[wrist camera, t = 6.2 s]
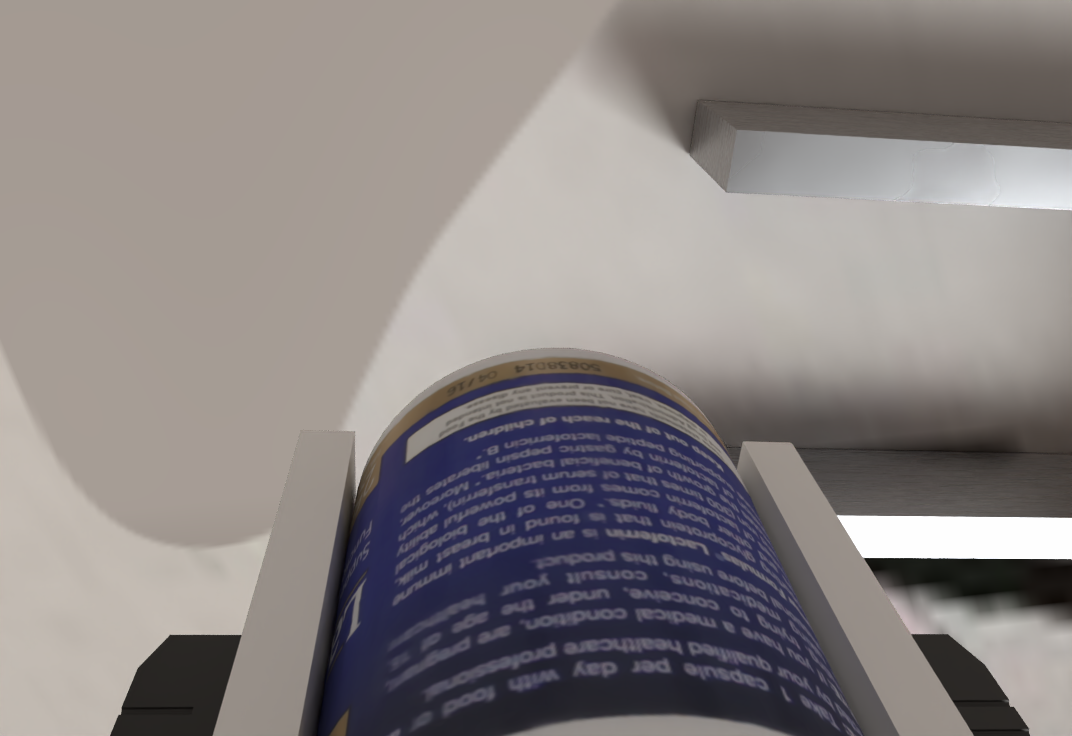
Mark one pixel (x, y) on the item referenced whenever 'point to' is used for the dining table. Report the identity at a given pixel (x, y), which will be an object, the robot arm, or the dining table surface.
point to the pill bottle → (566, 570)
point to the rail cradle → (929, 177)
